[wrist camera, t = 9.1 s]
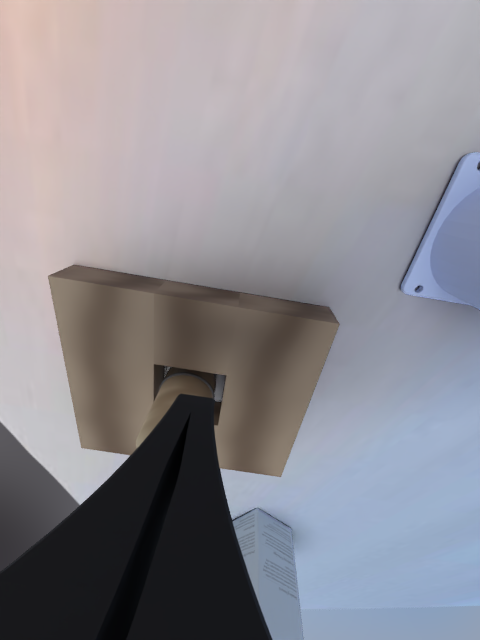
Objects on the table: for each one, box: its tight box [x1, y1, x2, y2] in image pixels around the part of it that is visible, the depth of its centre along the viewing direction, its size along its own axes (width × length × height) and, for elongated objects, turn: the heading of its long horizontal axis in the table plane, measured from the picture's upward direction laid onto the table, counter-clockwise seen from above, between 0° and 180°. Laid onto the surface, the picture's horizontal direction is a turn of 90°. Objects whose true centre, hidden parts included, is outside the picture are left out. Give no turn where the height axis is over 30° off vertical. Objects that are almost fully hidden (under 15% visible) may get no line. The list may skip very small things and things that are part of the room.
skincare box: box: [232, 508, 304, 640], centre depth 26 cm, size 8×7×16 cm
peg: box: [136, 367, 216, 448], centre depth 19 cm, size 4×4×7 cm
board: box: [48, 265, 339, 477], centre depth 21 cm, size 18×16×2 cm
